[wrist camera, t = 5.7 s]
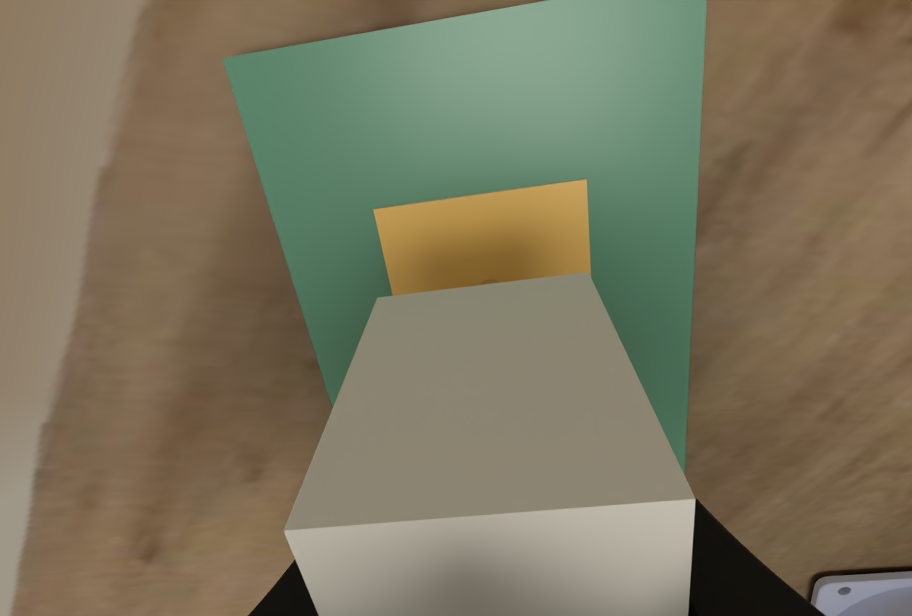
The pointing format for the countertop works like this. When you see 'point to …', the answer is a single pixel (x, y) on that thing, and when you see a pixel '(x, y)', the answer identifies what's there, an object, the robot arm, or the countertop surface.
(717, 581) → the robot arm
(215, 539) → the countertop surface
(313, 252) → the header board
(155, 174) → the countertop surface
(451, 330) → the block
